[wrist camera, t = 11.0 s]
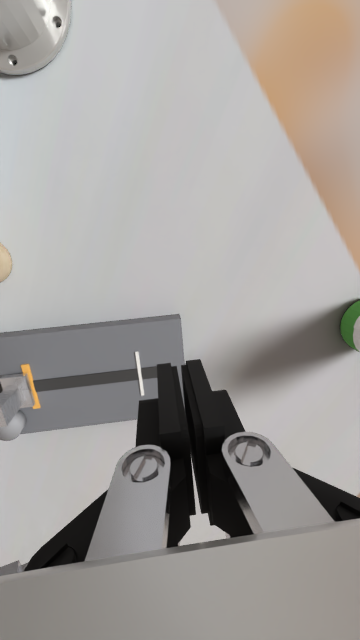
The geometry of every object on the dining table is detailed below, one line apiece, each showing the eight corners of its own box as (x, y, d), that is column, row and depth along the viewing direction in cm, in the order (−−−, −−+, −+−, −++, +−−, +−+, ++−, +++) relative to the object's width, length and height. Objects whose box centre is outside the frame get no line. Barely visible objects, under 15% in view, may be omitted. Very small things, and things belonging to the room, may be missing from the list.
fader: (2, 375, 36) (-25, 402, 31) (27, 372, 36) (5, 398, 31) (11, 405, 38) (-13, 436, 32) (35, 402, 38) (15, 433, 32)
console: (-25, 335, 37) (-45, 347, 33) (179, 314, 39) (182, 323, 35) (5, 427, 41) (-10, 447, 37) (187, 404, 43) (190, 421, 39)
